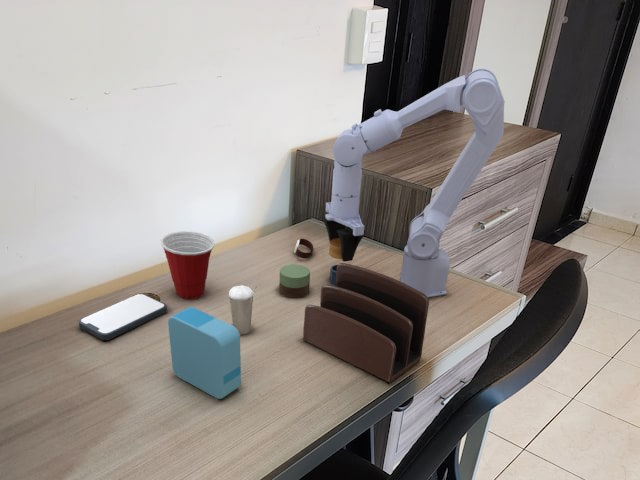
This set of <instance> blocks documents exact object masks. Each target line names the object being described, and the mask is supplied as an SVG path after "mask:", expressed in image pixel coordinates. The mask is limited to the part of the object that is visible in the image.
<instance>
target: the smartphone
mask: <svg viewBox="0 0 640 480" xmlns="http://www.w3.org/2000/svg"><path fill="white" fill-rule="evenodd" d="M167 311H168V306H167V304H166V303H165V302H162V301H160V300H157V299H155V298H154V297H151V296H149V295H147V294H144V293H137V294H134V295H132V296H130V297H127V298H125V299H123V300H120V301H118V302H116V303H114V304H112V305H109V306H107V307H105V308H103V309H100V310H97V311H95V312H92V313H91V314H88V315H86V316H84V317H82V318H80V319H79V320H78V326H79V328H80V329H82V330H83V331H85V332H87V333H89V334H91V335H92V336H94V337H96V338H98V339H100V340H102V341H109V340H112V339H114V338H115V337H118V336H120V335H122V334H124V333H127V332H128V331H130V330H132V329H134V328H136V327H139V326H141V325H143V324H144V323H146V322H147V323H148V322H149V321H151V320H153V319H155V318H157V317H159V316H161V315H163V314H166V313H167Z"/></svg>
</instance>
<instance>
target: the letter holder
mask: <svg viewBox="0 0 640 480" xmlns="http://www.w3.org/2000/svg"><path fill="white" fill-rule="evenodd" d="M337 264H338V266H337V276H336V286H335V285H333V284H326V283H325V284H323V286H321V288H320V301H319V302H320V305H314V304H307V305H306V306H305V307H304V318H303V331H302V333H303V334H302V340H303V341H304V342H307V343H308V344H311V345H313V346H314V347H316V348H318V349H320V350H323V351H325V352H326V353H328V354H331V355H333V356H335V357H337V358H339V359H340V360H342V361H345V362H346V363H348V364H351V365H353V366H355V367H357V368H358V369H361V370H363V371H365V372H367V373H369V374H371V375H373V376H375V377H377V378H378V379H381V380H383V381H385V382H387V383H389V384H391V383H392V382H393V381H394V380H396V379H398V378H399V377H401V376H402V375H403V374H404V373H406V372H407V371H408V370H410V369H411V368H413V367H414V366H415V365H417V364H418V363H419V362H420V361H421V359H422V355H423V347H424V340H425V334H426V333H425V332H426V327H427V320H428V314H429V308H430V307H429V306H430V301H429V297H427V296H426V295H425V294H423V293H422V292H420V291H418V290H416V289H414V288H412V287H410V286H409V285H406V284H405V283H402V282H400V280H398V279H395V278H394V277H390V276H388V275H385V274H383V273H380V272H377V271H374V270H371V269H368V268H365V267H362V266H358V265H354V264H350V263H346V262H339V263H337Z"/></svg>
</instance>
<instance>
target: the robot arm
mask: <svg viewBox="0 0 640 480" xmlns="http://www.w3.org/2000/svg"><path fill="white" fill-rule="evenodd" d="M505 103H506V102H505V98H504V96H503V92H502V90H501V88H500V85H499V82H498V79H497V77H496V74H494V73H493V72H492V71H491V70H489V69H487V68H478V69H477V68H476V69H474V70H472V71H470V72H469V73H468V74H467V75H466V74H464V75H461V76H458V77H455V78H454V79H452V80H450V81H448V82H446V83H444V84H442V85H441V86H439V87H437V88H436V89H434V90H432V91H431V92H428V93H427V94H426V95H424V96H422V97H420V98H419V99H416V100H415V101H413V102H412V103H410V104H408V105H407V106H405V107H403V108H402V109H400V110H397V111H394V110H391V109H385V110H383V111H382V109H381V108H380V109H378V110H376V111H374V112H373V116H372V117H369V119H366V120H365V121H363V122H361V123H359V124H358V123H353V124H352V125H351V128H347V129H345V130H343V131H342V132H341V133H339V135H338V137H337V138H336V140H335V141H334V145H333V147H332V155H333V158H334V160H333V166H334V168H333V171H332V184H331V185H332V186H331V201H329V202H328V201H327V202H325V212H326V214H325V216H323V217H322V221H323V223H324V226H325V228H326V231H327V235H328V240H329V241H328V242H329V243H330V241H331V240H332V239H335V238H340V242H341V255H342V259H341V260H342V263H346V262H352V261H353V259H354V257H355V254H356V253H357V252H356V251H357V248H358V247H359V244H360V242H361V241H362V239H363V238H364V237H365V236H366V233H367V232H366V230H365V225H364V224H363V222H362V219H361V216H360V212H359V210H360V201H361V189H362V177H363V170H362V163H363V156H364V155H366V154H371V153H373V152H375V151H377V150H379V149H381V148H383V147H385V146H387V145H390V144H391V143H393V142H396V141H397V140H399V139H400V138H401V136H402V132H403V131H404V129H406V128H408V127H410V126H411V125H414V124H416V123H418V122H420V121H423V120H424V119H428V118H429V117H431V116H433V115H436V114H438V113H440V112H441V111H442V112H443V111H444V110H446V111H451V112H455V113H461V106H463V108H464V109H465V112H466V113H467V114H468V115H469V117H470V118H471V121H472V125H473V129H474V132H473V134H472V135H471V137H470V138H469V140H468V141H467V143H466V145H465V146H464V147H463V149H462V151H461V153H460V155H459V156H458V158H457V159H456V161H455V162H454V164H453V166H452V167H451V169H450V170H449V172H448V173H447V175H446V177H445V179H444V180H443V182H442V183H441V185H440V187H439V188H438V190H437V191H436V193H435V195H434V197H433V198H432V200H431V201H430V202H429V203H428V204H427V205H426V206H425V207H424V209H423V211H421V213H420V214H418V215H417V216H415V217H414V218H413V219H412V220H411V221H410V223H409V227H408V230H409V231H408V232H409V233H408V238H407V242H406V245H405V246H404V248H403V255H402V262H401V269H400V276H399V281H400V282H402V283H405V284H406V285H409V286H410V287H412V288H414V289H416V290H418V291H420V292H422V293H423V294H425V295H426V296H427V297H428V298H434V297H439V296H445V295H448V291H447V290H446V289H447V283H448V278H449V272H450V267H451V266H450V264H451V263H450V256H449V253H448V252H447V251H446V250H445V249H443V248H440V246H441V245H440V243H441V239H442V237H443V235H444V233H445V231H446V229H447V226H448V224H449V222H450V219H451V217H452V216H453V214H454V212H455V211H456V210H457V208H458V206H459V205H460V203H461V202H462V200H463V199H464V197H465V196H466V194H467V193H468V191H469V189H470V188H471V186H472V185H473V184H474V182H475V180H476V179H477V178H478V176H479V174H480V173H481V171H482V169H483V168H484V167H485V165H486V163H488V161H489V159H490V157H491V156H492V154H493V152H494V151H495V150H496V148H497V146H498V145H499V143H500V142H501V140H502V139H503V137H504V133H505V127H504V126H505Z"/></svg>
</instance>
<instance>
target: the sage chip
mask: <svg viewBox="0 0 640 480" xmlns="http://www.w3.org/2000/svg"><path fill="white" fill-rule="evenodd" d="M309 282H310V283H311V270H310V269H309V267H307V266H305V265H302V264H297V263H296V264H295V263H293V264H286V265H283V266H282V267H280V269H279V283H281V284H282V285H284V286H286V287H290V288H301V287H304V286H307V285H308V284H309Z"/></svg>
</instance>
